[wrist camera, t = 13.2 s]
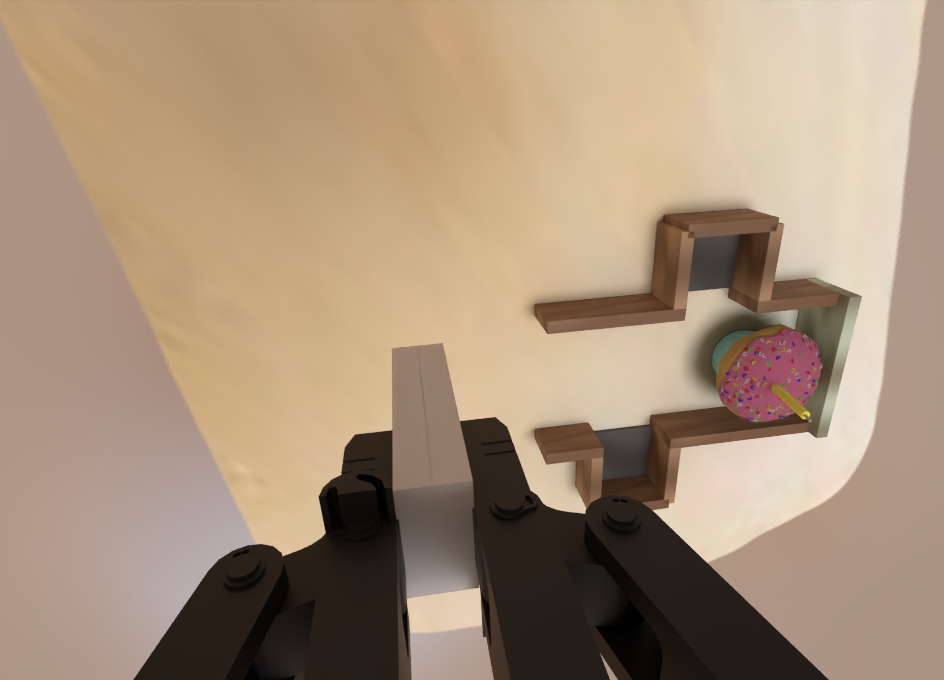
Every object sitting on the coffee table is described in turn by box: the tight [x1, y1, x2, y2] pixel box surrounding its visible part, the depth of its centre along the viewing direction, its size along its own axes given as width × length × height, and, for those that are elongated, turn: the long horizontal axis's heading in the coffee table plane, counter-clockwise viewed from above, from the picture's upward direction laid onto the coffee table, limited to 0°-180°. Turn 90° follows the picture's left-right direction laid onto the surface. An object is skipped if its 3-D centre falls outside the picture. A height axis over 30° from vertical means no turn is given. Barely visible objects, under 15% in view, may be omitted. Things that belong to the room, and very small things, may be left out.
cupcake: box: [712, 324, 822, 423], centre depth 44 cm, size 9×8×12 cm
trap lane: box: [535, 209, 862, 510], centre depth 46 cm, size 26×25×5 cm
